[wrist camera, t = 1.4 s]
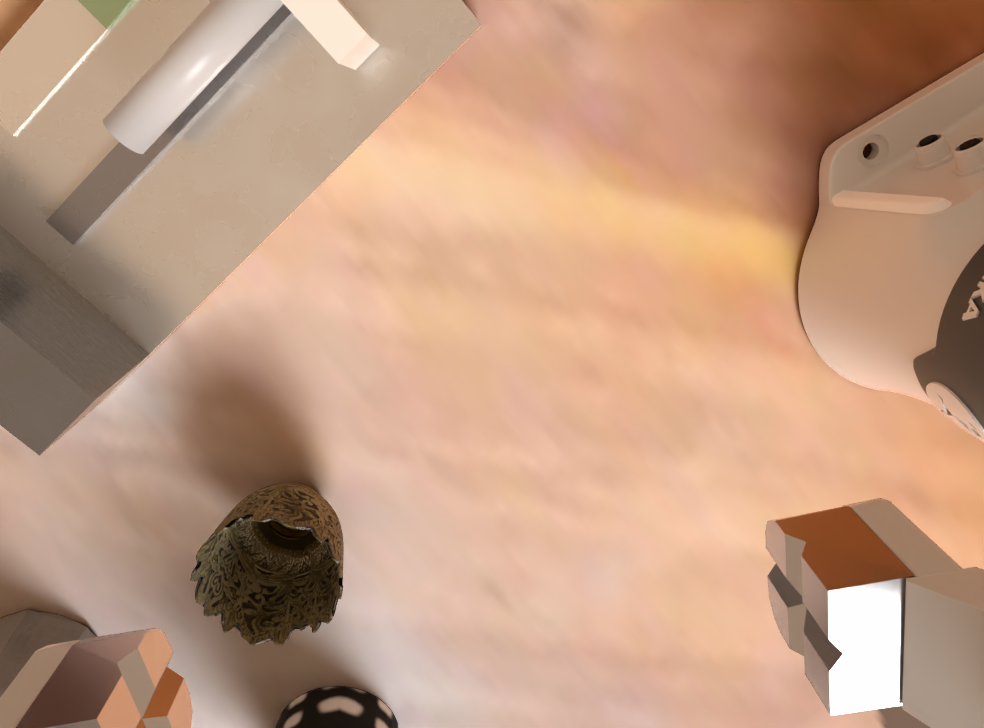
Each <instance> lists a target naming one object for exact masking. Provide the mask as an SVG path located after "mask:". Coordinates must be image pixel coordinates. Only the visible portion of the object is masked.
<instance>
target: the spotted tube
mask: <svg viewBox="0 0 984 728" xmlns="http://www.w3.org/2000/svg"><path fill="white" fill-rule="evenodd" d="M276 728H398V723H397V720H396V718H395V716H394V714H393V713H392V711H391V710H390V709H389V708H388V706H387V705H386V704H384V703H383V702H382V701H381V700H380V699H378V698H377V697H375V696H373V695H371V694H369V693H367V692H364V691H362V690H359V689H355V688H349V687H325V688H319V689H316V690H313V691H309V692H307V693H305V694H303V695H301V696H299V697H297V698H296V699H295V700H294V701H292V702H291V703H290V704H289V705H288V706H287V707H286V708H285V710H284V711H283V712H282V714H281V716H280V718H279V720H278V723H277V726H276Z"/></svg>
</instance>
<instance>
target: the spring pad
mask: <svg viewBox="0 0 984 728" xmlns="http://www.w3.org/2000/svg"><path fill="white" fill-rule="evenodd" d="M283 4H284V5H285V6H286V7H287V8H288V9H289V10H290V11H291V12H292V13H293V14H294V16H295V17H296V18H297V19H298V20H299V21H300V22H301V23H302V24H303V25H304V27H305V28H306V29H307V30H308V31H309V32H310V33H311V34H312V35H313V36H314V38H315V39H316V40H317V41H318V42H319V43H320V44H321V45H322V46H323V47H324V49H325V50H326V51H327V52H328V53H329V54H330V55H331V56H332V57H333V58H334V59H335V61H336V62H337V63H339V64H341V65H344V66H347V67H349V68H352V69H355V70H356V69H357V68H358V67H359V66H360V65H361V64H362V63H363V62H364V61H365V60H366V59H367V58H368V57H369V56H370V55H371V54H372V53H373V52H374V51H375V50H376V48H377V47H378V46H379V44H378V42H377V41H376V40H375V39H374V38H373V37H372V36H371V35H370V33H369V32H368V31H367V30H366V29H365V28H364V27H363V25H362V24H361V23H360V22H359V21H358V20H357V19H356V18H355V16H354V15H353V14H352V13H351V12H350V11H349V10H348V9H347V7H346V6H345V5H344V4H343V3H342V2H341V1H340V0H212V1H211V2H210V3H209V4H208V5H207V6H206V7H205V8H204V9H203V11H202V12H201V13H200V14H199V15H198V16H197V17H196V18H195V19H194V20H193V22H192V23H191V24H190V25H189V26H188V27H187V28H186V29H185V30H184V31H183V32H182V34H181V35H180V36H179V37H178V38H177V39H176V40H175V41H174V42H173V43H172V45H171V46H170V47H169V48H168V49H167V50H166V51H165V52H164V53H163V54H162V56H161V57H160V58H159V59H158V60H157V61H156V62H155V63H154V64H153V65H152V67H151V68H150V69H149V70H148V71H147V72H146V73H145V74H144V75H143V76H142V77H141V79H140V80H139V81H138V82H137V83H136V84H135V85H134V86H133V87H132V88H131V90H130V91H129V92H128V93H127V94H126V95H125V96H124V97H123V98H122V99H121V101H120V102H119V103H118V104H117V105H116V106H115V107H114V108H113V109H112V110H111V112H110V113H109V114H108V115H107V116H106V117H105V118H104V119H103V124H104V126H105V127H106V129H107V130H108V131H109V132H110V133H111V134H112V136H114V137H115V138H116V139H117V140H118V141H119V142H120V143H122V144H123V145H124V146H126V147H127V148H129V149H130V150H132V151H134V152H136V153H139V154H144V153H145V152H146V150H147V149H148V148H149V147H150V146H151V145H152V144H153V143H154V142H155V141H156V140H157V139H158V138H159V137H160V136H161V134H162V133H163V132H164V131H165V130H166V129H167V128H168V127H169V126H170V125H171V124H172V123H173V122H174V121H175V119H176V118H177V117H178V116H179V115H180V114H181V113H182V112H183V111H184V110H185V109H186V108H187V107H188V106H189V105H190V103H191V102H192V101H193V100H194V99H195V98H196V97H197V96H198V95H199V94H200V93H201V92H202V91H203V90H204V89H205V87H206V86H207V85H208V84H209V83H210V82H211V81H212V80H213V79H214V78H215V77H216V76H217V75H218V74H219V72H220V71H221V70H222V69H223V68H224V67H225V66H226V65H227V64H228V63H229V62H230V61H231V60H232V59H233V58H234V56H235V55H236V54H237V53H238V52H239V51H240V50H241V49H242V48H243V47H244V46H245V45H246V44H247V43H248V42H249V40H250V39H251V38H252V37H253V36H254V35H255V34H256V33H257V32H258V31H259V30H260V29H261V28H262V27H263V25H264V24H265V23H266V22H267V21H268V20H269V19H270V18H271V17H272V16H273V15H274V14H275V13H276V12H277V11H278V9H279V8H280V7H281V6H282V5H283Z"/></svg>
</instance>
